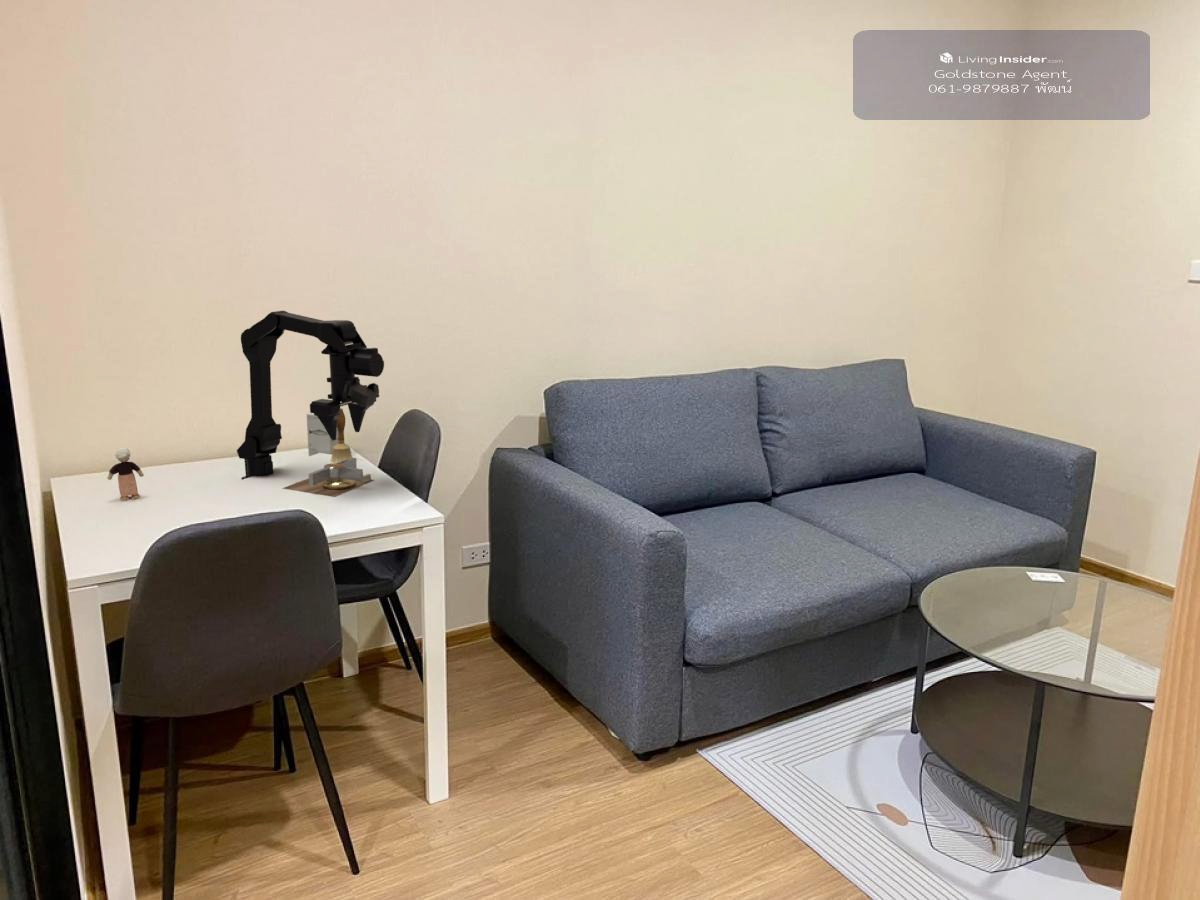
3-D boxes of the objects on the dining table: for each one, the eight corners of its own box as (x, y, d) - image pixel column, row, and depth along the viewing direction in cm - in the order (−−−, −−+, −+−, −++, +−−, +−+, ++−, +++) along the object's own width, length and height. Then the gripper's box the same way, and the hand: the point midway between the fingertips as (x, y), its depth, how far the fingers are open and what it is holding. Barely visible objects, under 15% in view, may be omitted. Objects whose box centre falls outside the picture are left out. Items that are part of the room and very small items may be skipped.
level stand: (282, 494, 230) (281, 482, 229) (324, 477, 244) (323, 466, 243) (335, 502, 224) (334, 490, 223) (375, 485, 238) (374, 474, 237)
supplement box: (307, 456, 264) (305, 413, 260) (322, 450, 271) (319, 408, 267) (330, 459, 262) (328, 415, 259) (344, 452, 269) (342, 410, 266)
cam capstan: (303, 491, 226) (302, 471, 225) (347, 473, 241) (346, 455, 240) (340, 497, 222) (339, 476, 221) (382, 479, 237) (381, 460, 236)
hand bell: (333, 460, 260) (330, 405, 256) (362, 462, 260) (359, 406, 256) (322, 468, 252) (318, 411, 248) (351, 470, 252) (348, 412, 248)
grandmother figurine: (141, 493, 228) (136, 443, 224) (147, 497, 225) (141, 446, 222) (108, 499, 222) (101, 448, 219) (113, 503, 220) (107, 452, 217)
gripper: (345, 382, 213) (348, 448, 217) (393, 370, 229) (395, 431, 233) (306, 378, 217) (310, 442, 221) (355, 366, 233) (358, 426, 237)
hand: (345, 435), depth 228 cm, fingers open, 9 cm apart
